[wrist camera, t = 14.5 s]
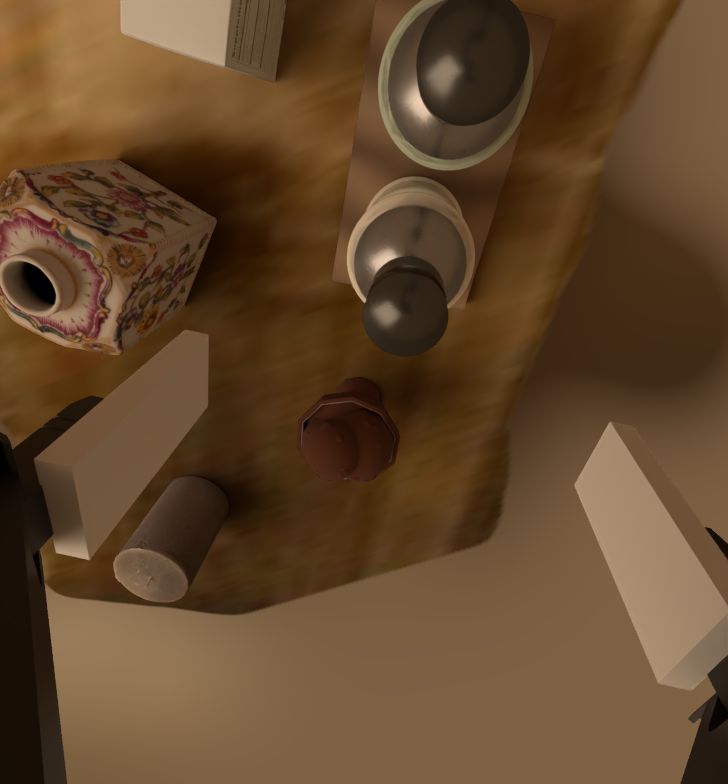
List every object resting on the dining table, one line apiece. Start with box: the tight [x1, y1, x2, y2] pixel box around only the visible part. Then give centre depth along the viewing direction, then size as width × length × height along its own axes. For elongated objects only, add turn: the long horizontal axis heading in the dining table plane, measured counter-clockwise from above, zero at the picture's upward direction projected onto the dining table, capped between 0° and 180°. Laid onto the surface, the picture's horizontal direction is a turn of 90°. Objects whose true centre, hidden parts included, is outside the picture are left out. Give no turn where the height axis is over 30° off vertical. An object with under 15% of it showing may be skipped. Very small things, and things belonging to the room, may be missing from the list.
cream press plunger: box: [354, 205, 467, 356], centre depth 29 cm, size 8×8×11 cm
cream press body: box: [347, 176, 475, 309], centre depth 39 cm, size 12×10×12 cm
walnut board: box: [332, 0, 556, 310], centre depth 42 cm, size 24×14×2 cm, turn 169°
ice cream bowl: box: [297, 377, 400, 483], centre depth 50 cm, size 11×11×15 cm
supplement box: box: [121, 0, 287, 82], centre depth 34 cm, size 7×7×13 cm
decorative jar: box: [0, 159, 217, 355], centre depth 41 cm, size 12×12×18 cm
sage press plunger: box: [388, 0, 530, 160], centre depth 23 cm, size 8×8×11 cm
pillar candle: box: [113, 476, 229, 602], centre depth 62 cm, size 10×10×15 cm
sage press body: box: [378, 0, 533, 170], centre depth 33 cm, size 12×10×12 cm
